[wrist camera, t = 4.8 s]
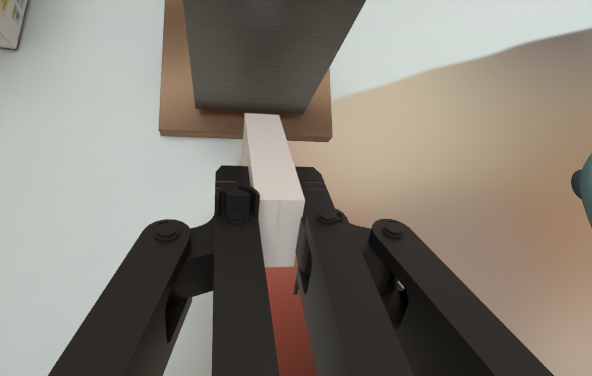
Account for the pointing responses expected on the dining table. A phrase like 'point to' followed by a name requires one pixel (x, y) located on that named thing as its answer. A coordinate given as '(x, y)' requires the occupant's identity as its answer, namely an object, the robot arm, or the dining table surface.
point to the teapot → (584, 186)
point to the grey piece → (263, 51)
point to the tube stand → (219, 123)
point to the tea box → (11, 22)
